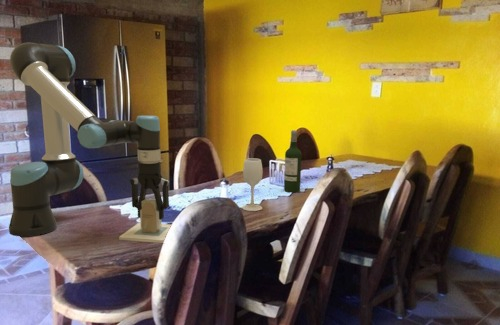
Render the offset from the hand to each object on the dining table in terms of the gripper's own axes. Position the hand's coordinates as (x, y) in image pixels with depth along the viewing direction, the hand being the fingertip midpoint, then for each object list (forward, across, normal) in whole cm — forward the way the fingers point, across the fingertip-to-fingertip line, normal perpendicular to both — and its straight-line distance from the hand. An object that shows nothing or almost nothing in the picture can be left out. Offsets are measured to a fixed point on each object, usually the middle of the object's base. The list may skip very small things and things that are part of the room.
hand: (151, 227), depth 152 cm
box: (+1, 0, 0) cm, 1 cm away
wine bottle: (+3, +43, +74) cm, 86 cm away
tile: (+2, 0, 0) cm, 2 cm away
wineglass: (+3, +29, +39) cm, 49 cm away
